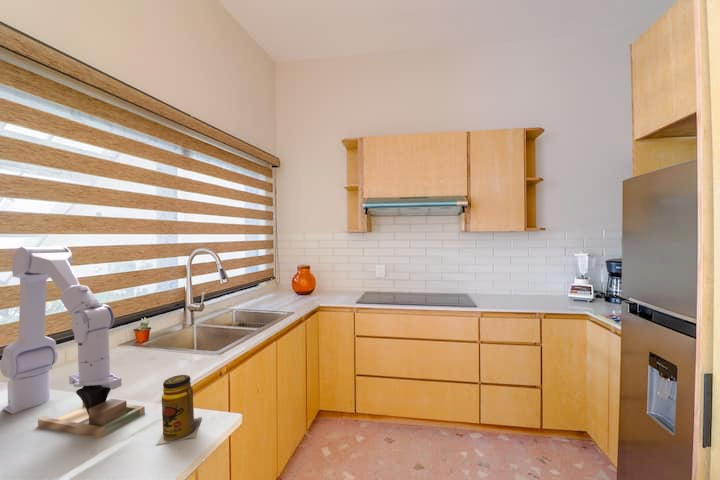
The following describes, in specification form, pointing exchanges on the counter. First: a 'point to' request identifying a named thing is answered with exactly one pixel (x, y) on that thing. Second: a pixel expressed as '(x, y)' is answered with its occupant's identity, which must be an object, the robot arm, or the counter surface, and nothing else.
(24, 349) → the robot arm
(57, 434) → the counter surface
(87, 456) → the counter surface
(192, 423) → the condiment
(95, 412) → the walnut block
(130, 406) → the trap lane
